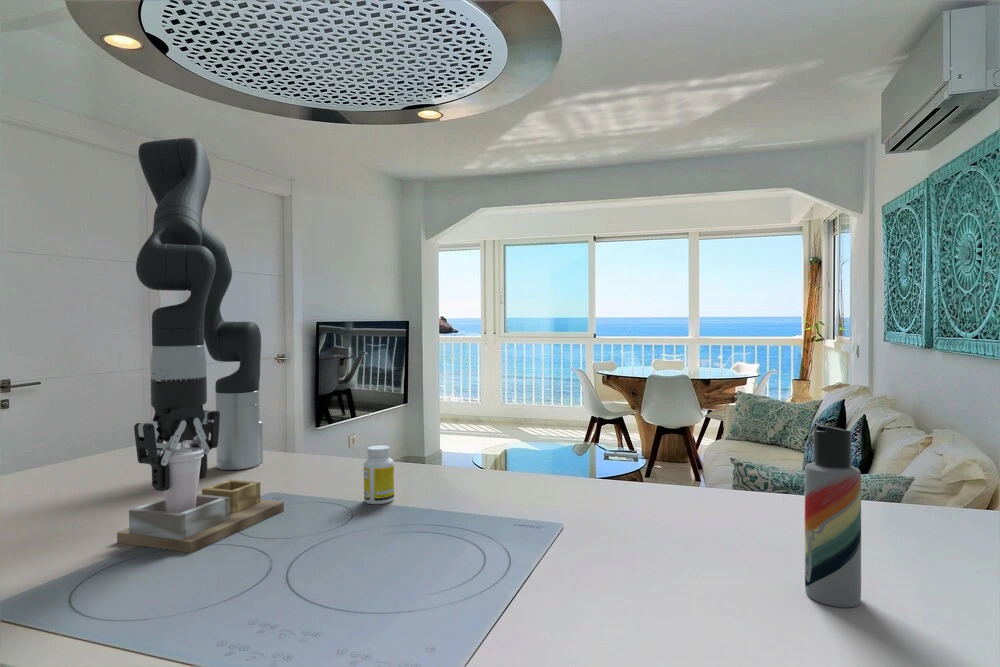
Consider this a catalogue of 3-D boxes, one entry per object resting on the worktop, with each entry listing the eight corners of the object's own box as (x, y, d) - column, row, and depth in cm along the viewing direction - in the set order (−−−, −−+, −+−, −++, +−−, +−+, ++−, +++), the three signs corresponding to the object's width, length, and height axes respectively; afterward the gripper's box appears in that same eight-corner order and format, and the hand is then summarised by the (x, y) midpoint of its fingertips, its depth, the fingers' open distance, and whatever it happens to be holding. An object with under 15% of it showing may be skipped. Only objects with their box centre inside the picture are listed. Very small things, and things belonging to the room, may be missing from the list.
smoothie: (213, 508, 94) (212, 420, 94) (187, 521, 87) (186, 427, 87) (175, 507, 94) (174, 419, 94) (147, 520, 88) (146, 426, 88)
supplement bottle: (399, 497, 110) (399, 445, 110) (384, 506, 105) (384, 451, 105) (374, 495, 112) (373, 443, 112) (358, 503, 107) (357, 449, 107)
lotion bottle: (794, 587, 71) (794, 421, 71) (839, 585, 72) (839, 420, 72) (824, 609, 66) (824, 430, 65) (873, 607, 66) (872, 428, 66)
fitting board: (219, 503, 107) (218, 476, 107) (283, 510, 103) (283, 481, 103) (117, 542, 88) (116, 509, 88) (191, 552, 84) (190, 517, 84)
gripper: (197, 371, 98) (198, 471, 99) (117, 379, 85) (119, 495, 85) (233, 371, 96) (235, 474, 96) (157, 380, 82) (159, 499, 83)
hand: (180, 483), depth 91 cm, fingers open, 6 cm apart
